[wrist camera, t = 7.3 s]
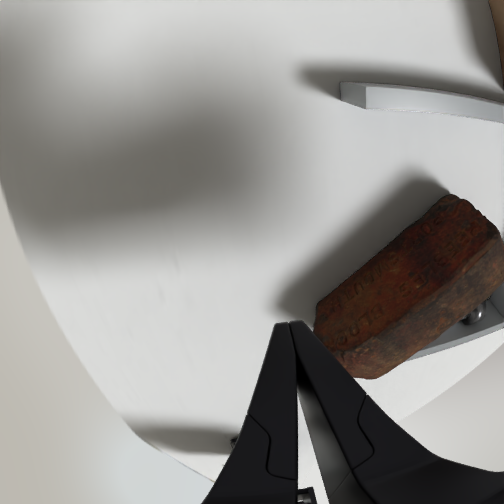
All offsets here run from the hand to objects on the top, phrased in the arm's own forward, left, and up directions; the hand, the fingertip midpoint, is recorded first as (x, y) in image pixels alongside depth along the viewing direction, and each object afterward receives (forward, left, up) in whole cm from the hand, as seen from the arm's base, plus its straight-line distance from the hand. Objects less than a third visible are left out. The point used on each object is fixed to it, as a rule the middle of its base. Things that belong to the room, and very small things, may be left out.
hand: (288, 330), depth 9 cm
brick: (-3, -7, -6) cm, 10 cm away
